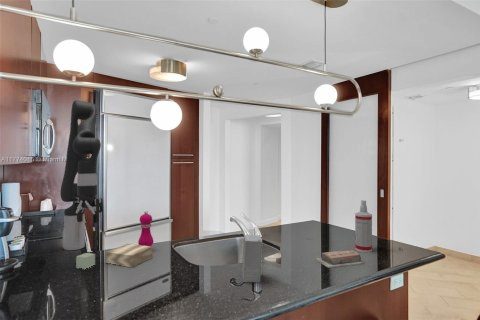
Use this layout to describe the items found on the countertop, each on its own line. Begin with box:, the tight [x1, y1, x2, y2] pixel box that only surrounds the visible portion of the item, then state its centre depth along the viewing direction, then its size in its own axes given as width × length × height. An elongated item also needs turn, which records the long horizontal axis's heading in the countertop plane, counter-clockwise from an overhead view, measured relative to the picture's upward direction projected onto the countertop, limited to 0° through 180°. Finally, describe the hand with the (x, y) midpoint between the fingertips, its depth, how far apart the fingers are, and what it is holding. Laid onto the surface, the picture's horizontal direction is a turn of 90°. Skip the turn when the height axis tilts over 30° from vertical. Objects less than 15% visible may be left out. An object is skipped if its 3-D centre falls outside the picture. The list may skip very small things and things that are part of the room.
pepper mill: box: [137, 210, 154, 247], centre depth 149 cm, size 7×7×20 cm
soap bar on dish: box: [315, 249, 365, 269], centre depth 133 cm, size 18×5×10 cm
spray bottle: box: [354, 200, 373, 253], centre depth 151 cm, size 8×8×25 cm
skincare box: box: [241, 234, 263, 283], centre depth 114 cm, size 8×7×16 cm
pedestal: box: [105, 243, 154, 268], centre depth 135 cm, size 14×14×5 cm
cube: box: [75, 252, 96, 270], centre depth 127 cm, size 5×5×5 cm
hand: (87, 222), depth 127 cm, fingers open, 8 cm apart
